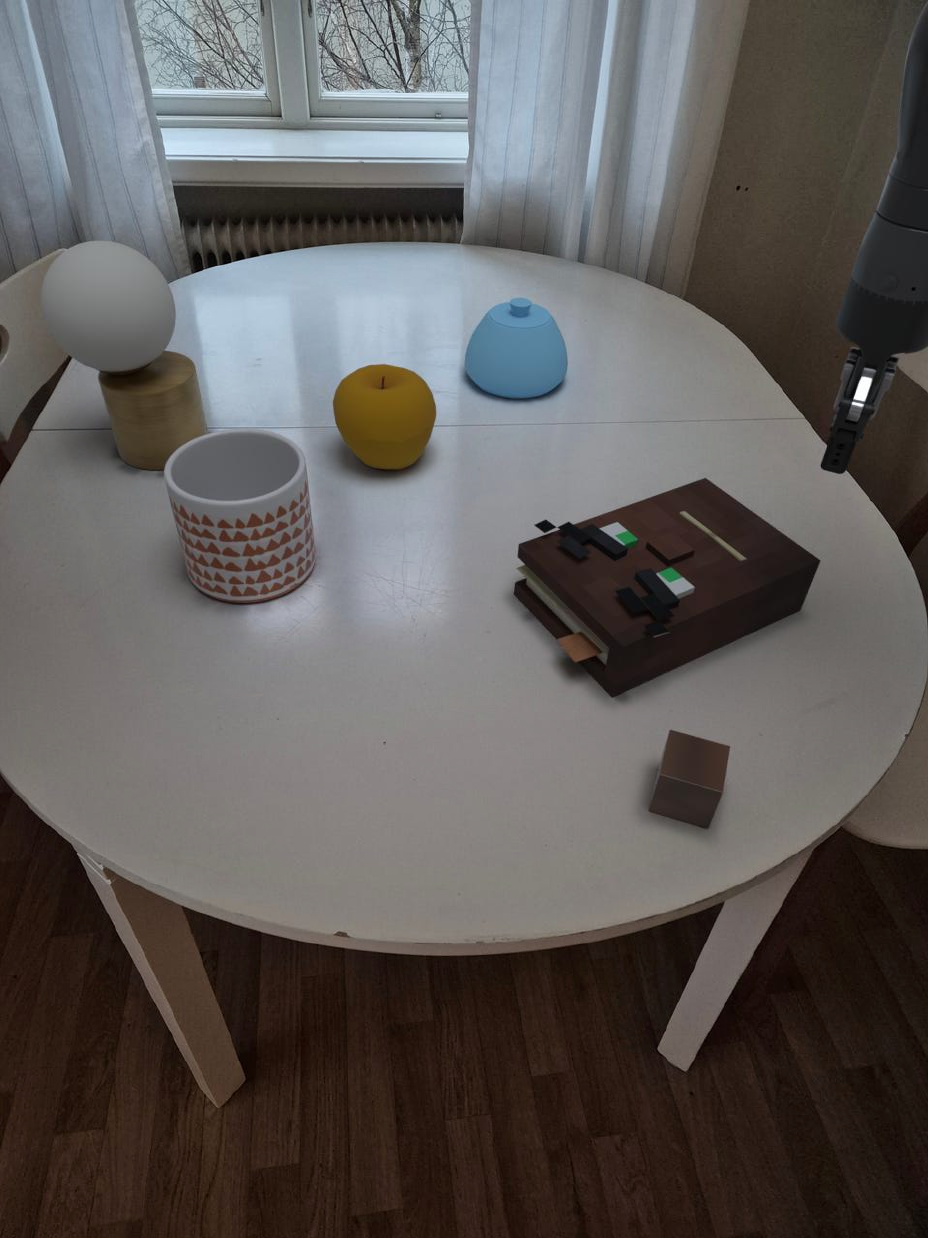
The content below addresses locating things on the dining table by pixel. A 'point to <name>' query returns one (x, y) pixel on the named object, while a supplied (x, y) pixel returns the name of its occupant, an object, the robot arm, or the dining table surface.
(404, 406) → the apple
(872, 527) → the dining table surface
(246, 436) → the planter
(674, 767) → the walnut block
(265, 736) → the dining table surface
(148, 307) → the lamp
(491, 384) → the sugar bowl
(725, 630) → the decorative book
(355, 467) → the dining table surface
